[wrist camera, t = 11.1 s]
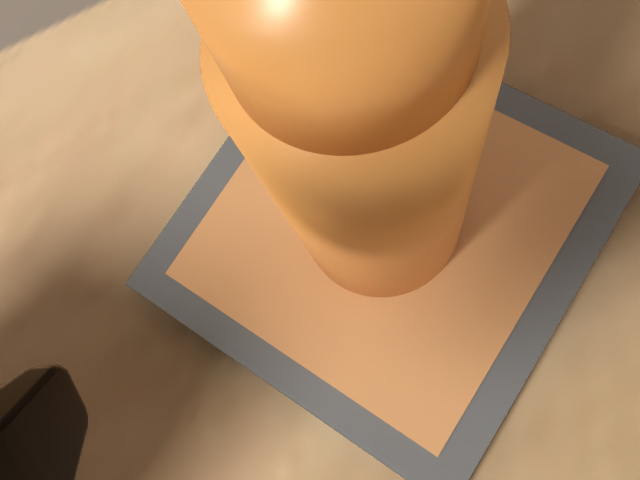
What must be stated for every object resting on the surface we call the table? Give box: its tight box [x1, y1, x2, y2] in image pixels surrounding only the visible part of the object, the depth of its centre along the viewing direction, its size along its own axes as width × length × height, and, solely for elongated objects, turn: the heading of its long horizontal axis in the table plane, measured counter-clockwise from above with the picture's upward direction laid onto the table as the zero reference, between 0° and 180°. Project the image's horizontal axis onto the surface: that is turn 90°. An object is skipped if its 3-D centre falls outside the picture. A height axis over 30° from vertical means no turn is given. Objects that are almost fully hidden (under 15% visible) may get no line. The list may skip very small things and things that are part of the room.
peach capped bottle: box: [180, 0, 511, 297], centre depth 13 cm, size 5×5×13 cm
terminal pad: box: [126, 82, 640, 480], centre depth 19 cm, size 12×12×1 cm
